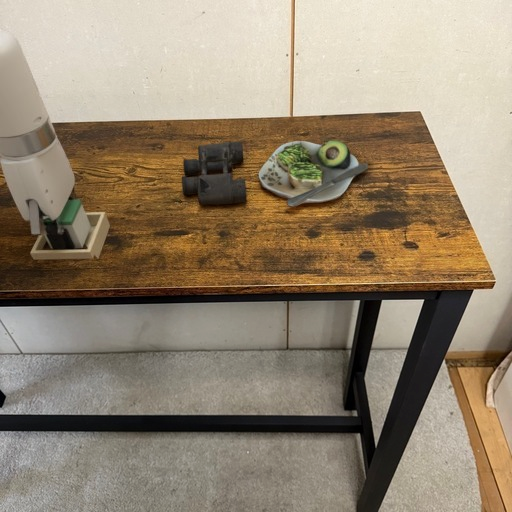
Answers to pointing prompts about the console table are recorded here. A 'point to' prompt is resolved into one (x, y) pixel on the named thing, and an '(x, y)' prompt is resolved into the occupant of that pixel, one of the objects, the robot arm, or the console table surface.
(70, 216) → the container
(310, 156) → the salad plate
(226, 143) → the binoculars
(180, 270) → the console table surface
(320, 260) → the console table surface
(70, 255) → the tray
